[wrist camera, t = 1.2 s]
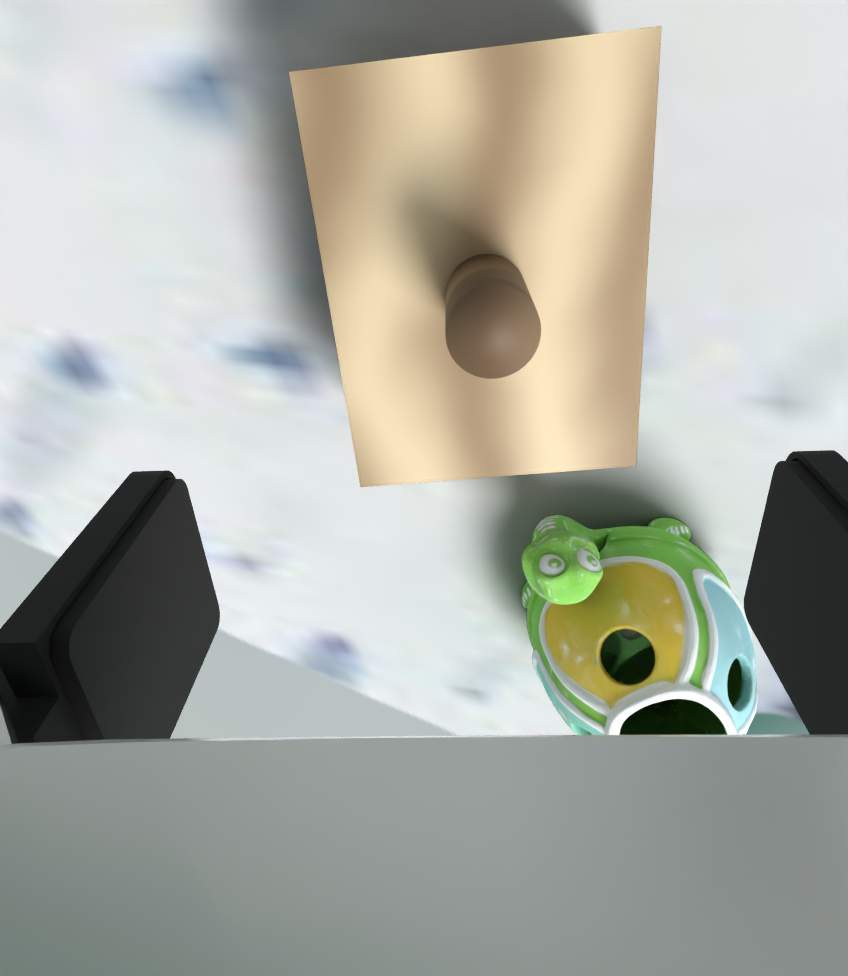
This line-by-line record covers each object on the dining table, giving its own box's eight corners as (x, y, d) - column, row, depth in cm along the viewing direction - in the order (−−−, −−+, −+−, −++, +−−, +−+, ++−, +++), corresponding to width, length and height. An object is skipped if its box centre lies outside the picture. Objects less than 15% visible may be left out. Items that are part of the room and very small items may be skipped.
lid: (653, 28, 23) (712, 9, 18) (630, 455, 32) (667, 527, 26) (294, 72, 24) (253, 66, 19) (362, 476, 33) (346, 549, 27)
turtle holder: (624, 411, 38) (690, 529, 28) (751, 617, 45) (841, 772, 35) (442, 516, 42) (441, 654, 32) (585, 692, 49) (623, 851, 39)
